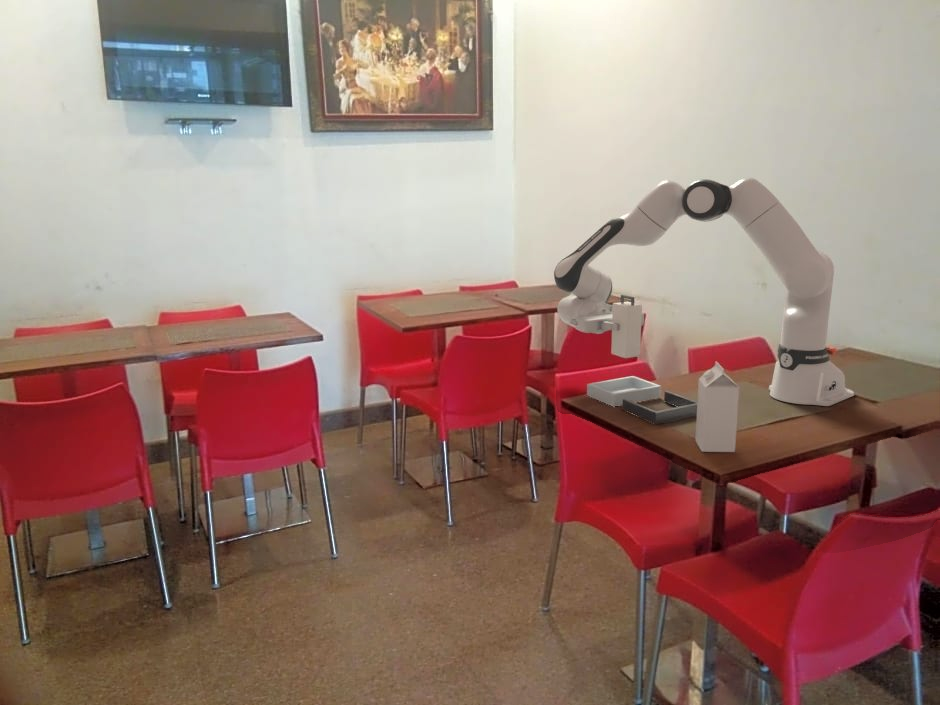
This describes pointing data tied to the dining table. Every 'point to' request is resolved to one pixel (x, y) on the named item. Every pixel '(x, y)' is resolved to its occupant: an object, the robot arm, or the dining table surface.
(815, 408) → the dining table surface
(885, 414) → the dining table surface
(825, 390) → the robot arm
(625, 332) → the white block with handle
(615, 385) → the tray
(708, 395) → the milk carton
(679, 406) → the tray
